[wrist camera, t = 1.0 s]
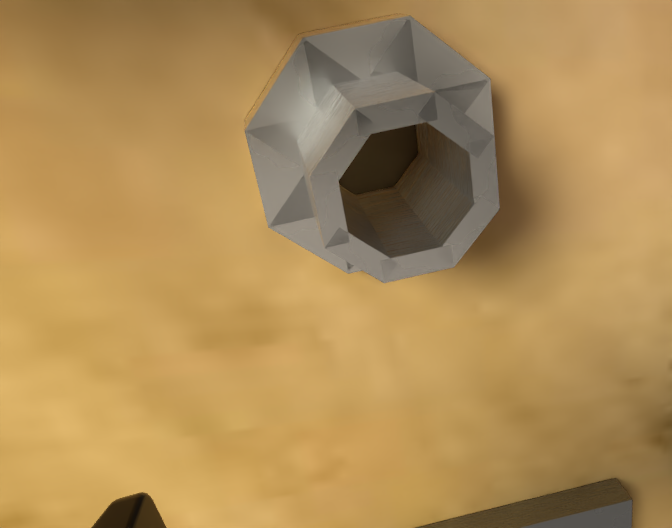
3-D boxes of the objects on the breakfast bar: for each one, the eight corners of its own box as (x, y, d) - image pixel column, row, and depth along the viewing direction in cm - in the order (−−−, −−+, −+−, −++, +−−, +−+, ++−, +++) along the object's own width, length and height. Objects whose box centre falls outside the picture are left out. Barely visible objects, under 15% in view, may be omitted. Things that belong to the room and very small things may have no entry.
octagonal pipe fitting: (466, -1, 17) (546, 3, 13) (485, 223, 20) (555, 290, 16) (226, 48, 17) (221, 70, 12) (280, 269, 20) (292, 352, 15)
